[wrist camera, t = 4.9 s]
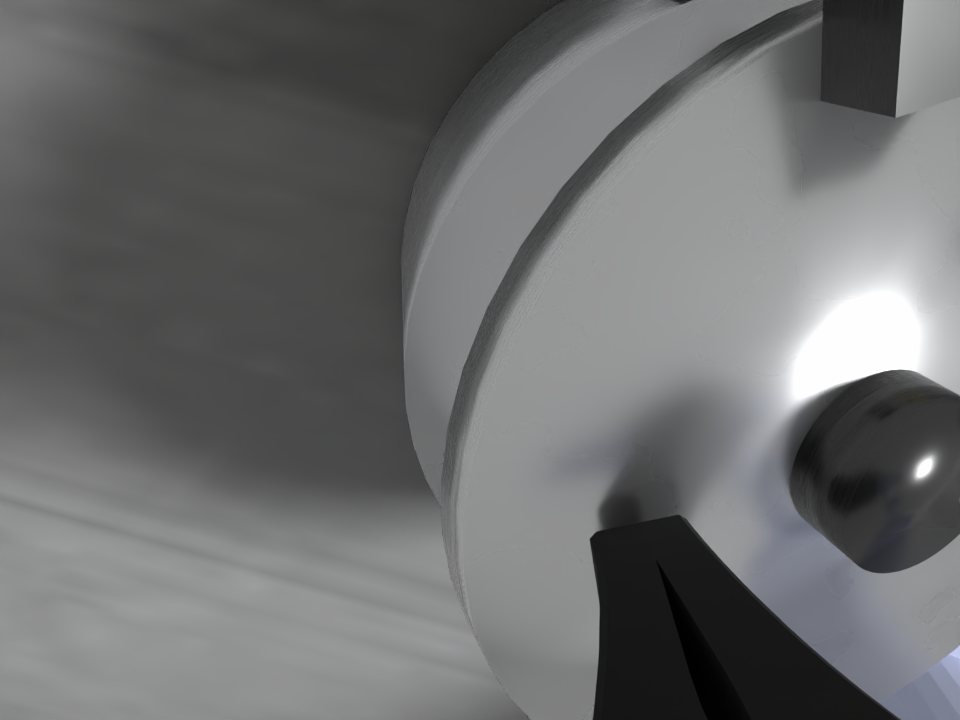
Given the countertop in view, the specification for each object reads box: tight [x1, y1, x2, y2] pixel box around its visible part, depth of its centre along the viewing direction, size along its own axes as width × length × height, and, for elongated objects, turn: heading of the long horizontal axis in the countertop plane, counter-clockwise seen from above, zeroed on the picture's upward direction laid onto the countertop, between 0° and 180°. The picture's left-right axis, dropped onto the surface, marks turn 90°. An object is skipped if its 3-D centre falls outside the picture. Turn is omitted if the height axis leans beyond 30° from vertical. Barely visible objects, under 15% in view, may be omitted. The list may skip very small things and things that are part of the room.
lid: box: [441, 0, 960, 720], centre depth 12 cm, size 21×14×2 cm, turn 11°
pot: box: [401, 0, 812, 506], centre depth 16 cm, size 22×14×5 cm, turn 11°
